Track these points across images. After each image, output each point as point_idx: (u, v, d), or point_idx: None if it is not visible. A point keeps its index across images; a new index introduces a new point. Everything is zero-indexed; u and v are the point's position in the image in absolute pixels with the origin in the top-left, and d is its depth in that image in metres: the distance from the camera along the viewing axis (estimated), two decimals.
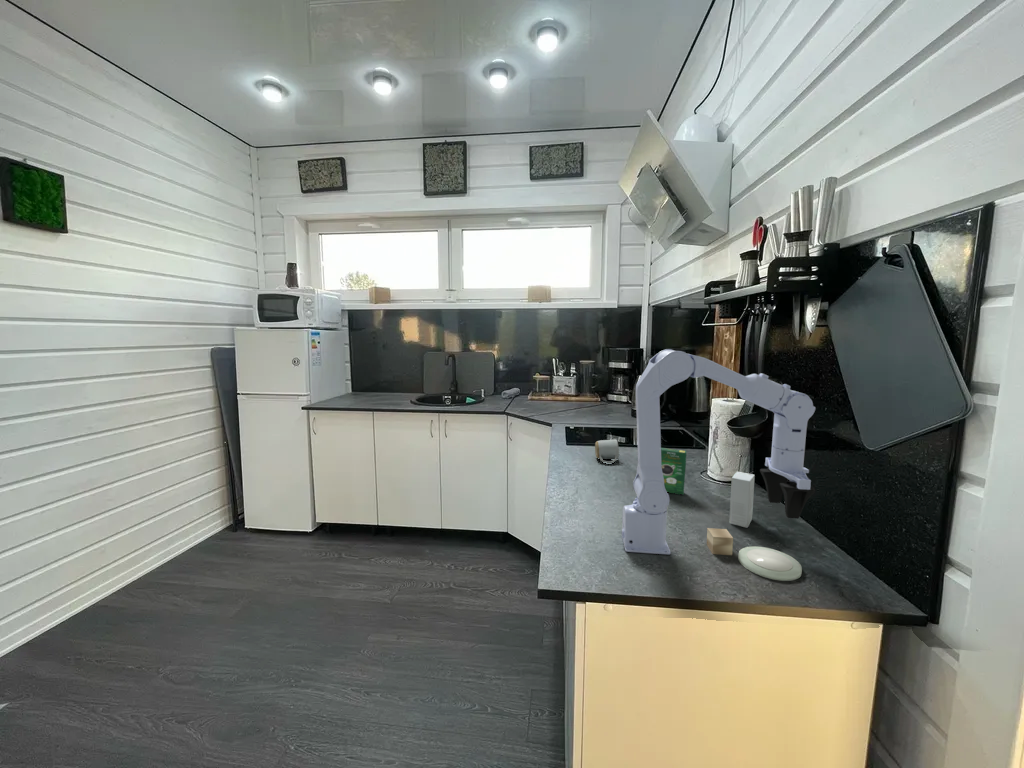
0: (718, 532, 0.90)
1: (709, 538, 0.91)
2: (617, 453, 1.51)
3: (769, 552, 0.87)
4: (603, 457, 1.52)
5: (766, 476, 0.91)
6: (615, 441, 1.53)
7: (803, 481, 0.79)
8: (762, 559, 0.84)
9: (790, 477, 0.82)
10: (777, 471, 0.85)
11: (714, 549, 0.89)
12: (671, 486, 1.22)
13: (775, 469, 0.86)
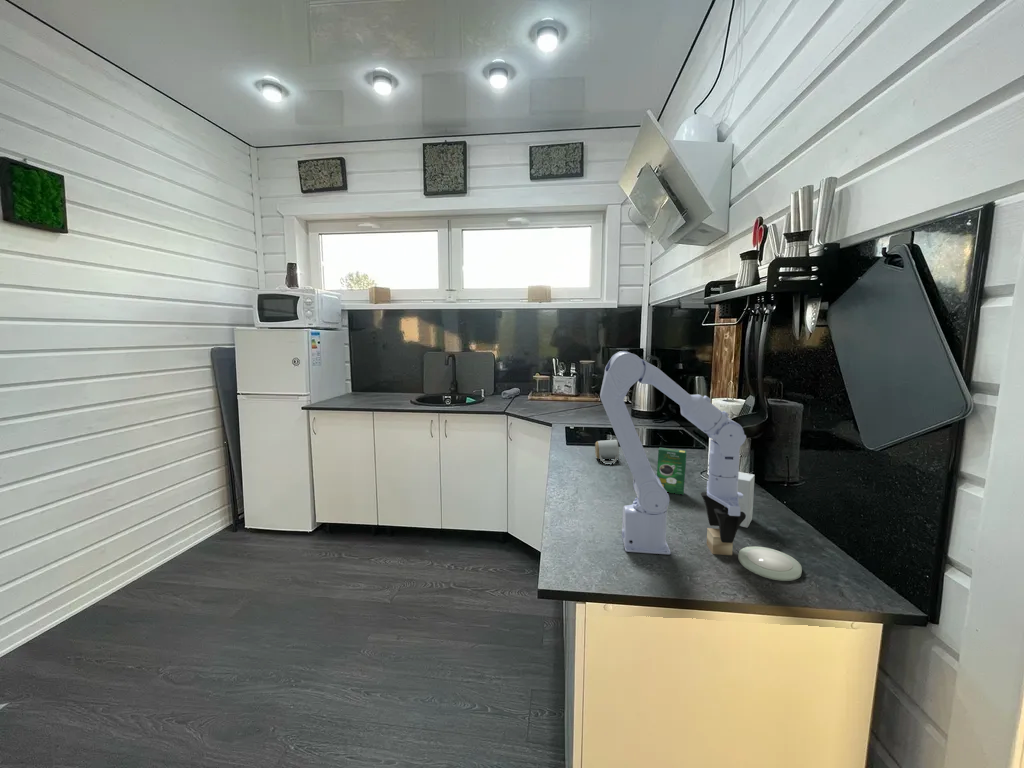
0: (718, 532, 0.90)
1: (709, 538, 0.91)
2: (617, 453, 1.51)
3: (769, 552, 0.87)
4: (603, 457, 1.52)
5: (706, 500, 0.93)
6: (615, 441, 1.53)
7: (733, 508, 0.82)
8: (762, 559, 0.84)
9: (723, 503, 0.84)
10: (712, 497, 0.88)
11: (714, 549, 0.89)
12: (671, 486, 1.22)
13: (711, 494, 0.88)
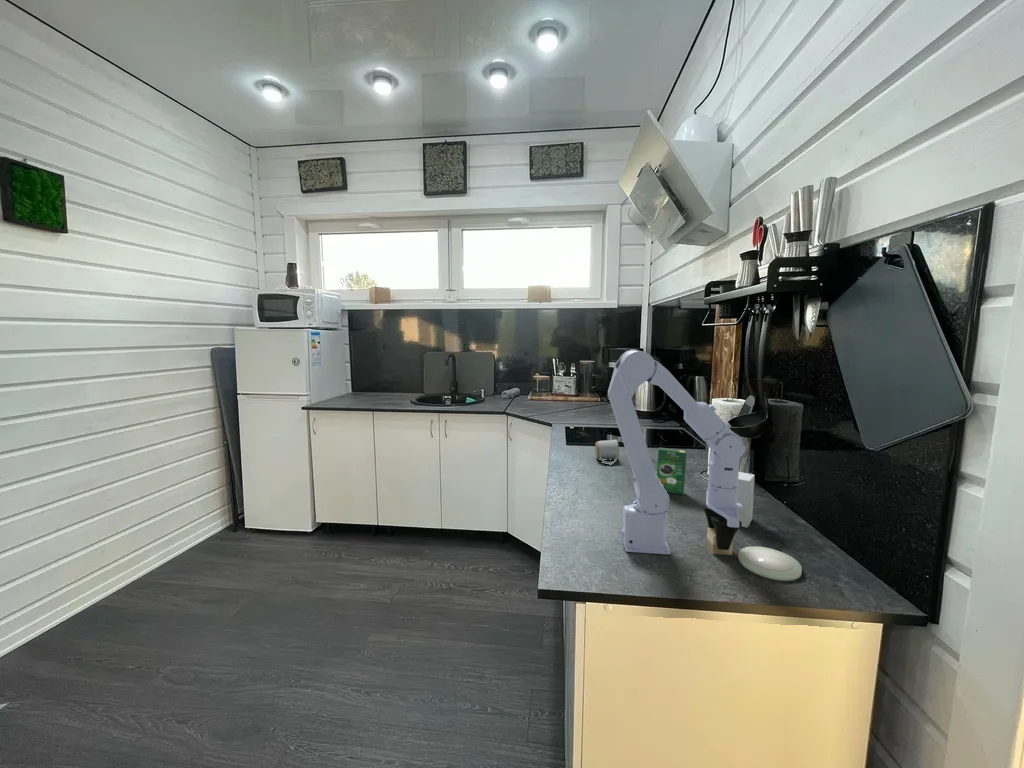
0: None
1: (709, 538, 0.91)
2: (617, 453, 1.50)
3: (769, 552, 0.87)
4: (603, 457, 1.52)
5: (707, 513, 0.92)
6: (615, 441, 1.53)
7: (732, 519, 0.82)
8: (762, 559, 0.84)
9: (722, 514, 0.85)
10: (711, 507, 0.88)
11: (714, 549, 0.89)
12: (671, 486, 1.22)
13: (710, 505, 0.88)
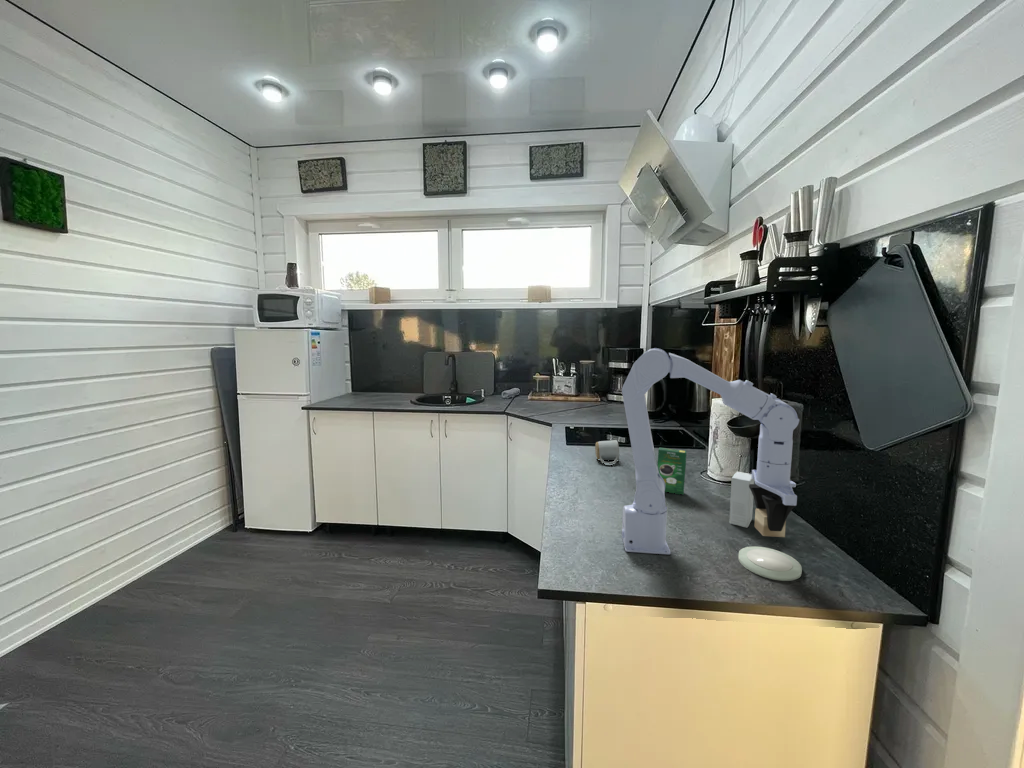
0: None
1: (758, 519, 0.84)
2: (617, 454, 1.50)
3: (769, 552, 0.87)
4: (603, 458, 1.51)
5: (755, 492, 0.85)
6: (615, 442, 1.52)
7: (789, 497, 0.76)
8: (762, 559, 0.84)
9: (776, 492, 0.78)
10: (763, 485, 0.81)
11: (765, 530, 0.82)
12: (671, 486, 1.22)
13: (761, 483, 0.82)
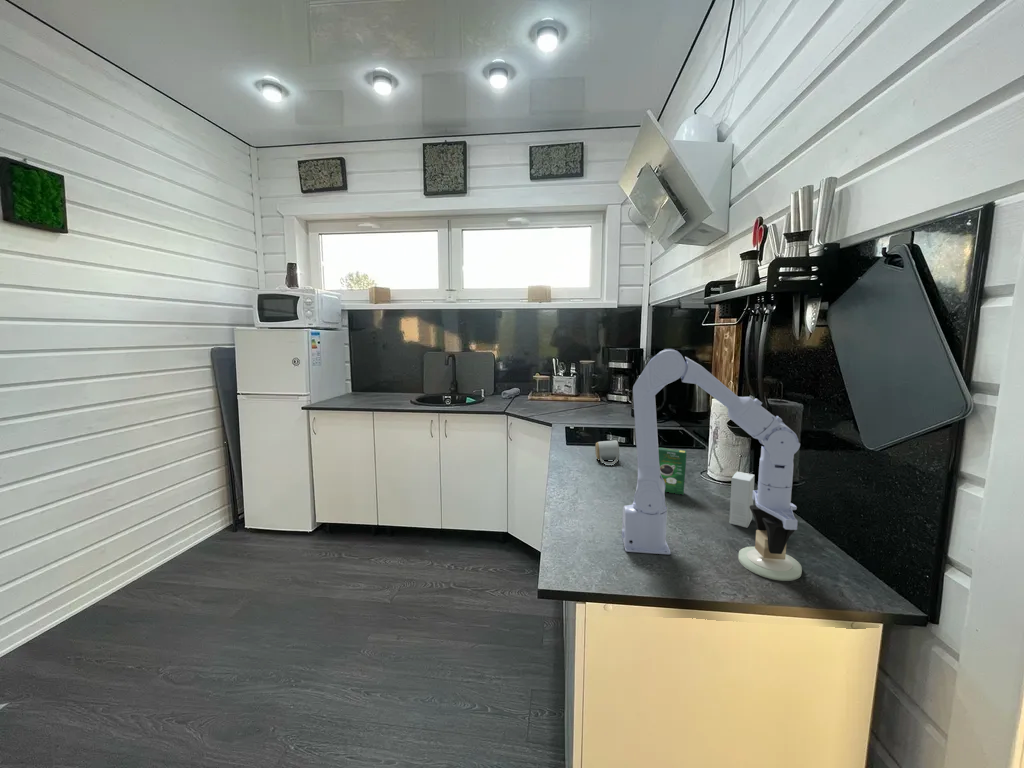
0: None
1: (759, 541, 0.85)
2: (618, 454, 1.50)
3: None
4: (603, 458, 1.51)
5: (756, 514, 0.86)
6: (616, 442, 1.52)
7: (789, 521, 0.76)
8: (762, 559, 0.84)
9: (776, 516, 0.78)
10: (763, 508, 0.81)
11: (765, 553, 0.82)
12: (671, 486, 1.22)
13: (761, 506, 0.82)
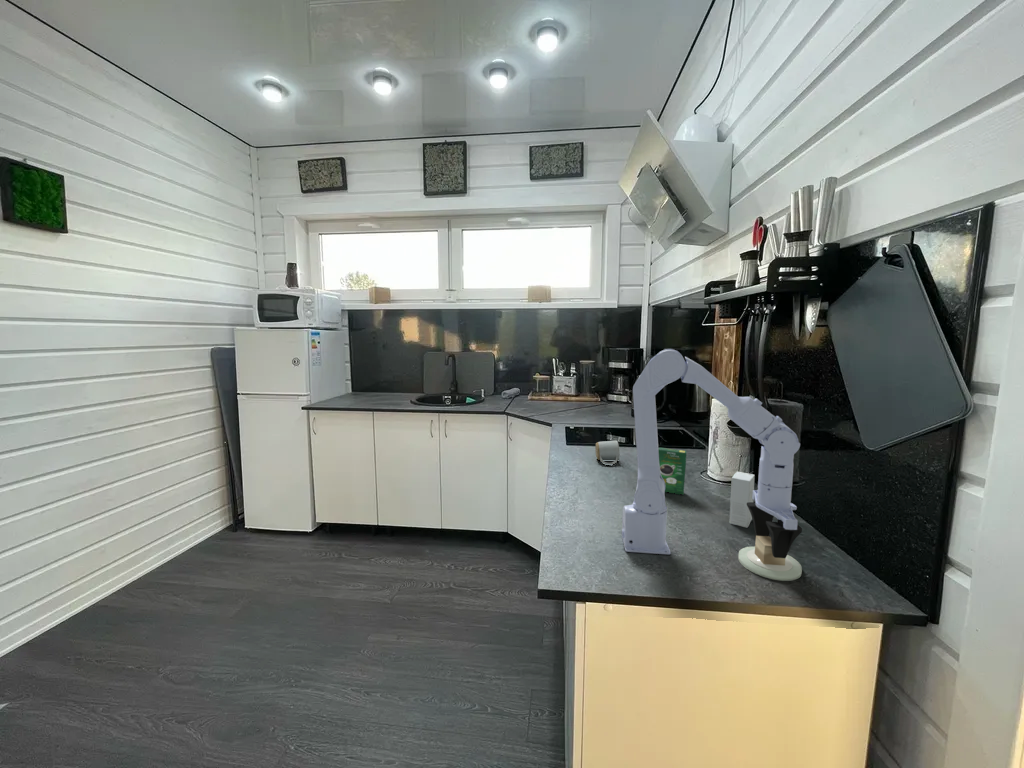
0: (768, 540, 0.84)
1: (758, 547, 0.85)
2: (618, 454, 1.50)
3: None
4: (603, 458, 1.51)
5: (753, 511, 0.87)
6: (616, 442, 1.52)
7: (789, 521, 0.76)
8: None
9: (776, 516, 0.78)
10: (763, 508, 0.81)
11: (765, 559, 0.82)
12: (671, 486, 1.22)
13: (761, 506, 0.82)
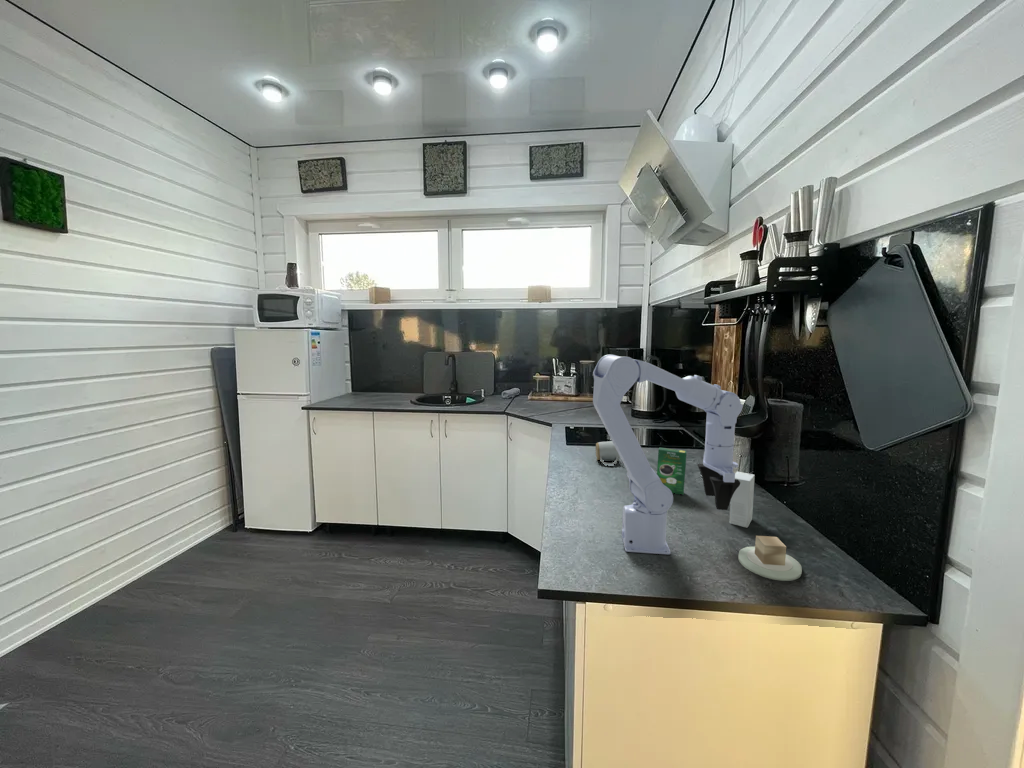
0: (768, 540, 0.84)
1: (758, 547, 0.85)
2: (618, 455, 1.49)
3: None
4: (604, 459, 1.50)
5: (702, 471, 0.96)
6: None
7: (728, 474, 0.85)
8: None
9: (718, 471, 0.88)
10: (708, 465, 0.91)
11: (765, 558, 0.82)
12: (671, 486, 1.22)
13: (707, 464, 0.91)
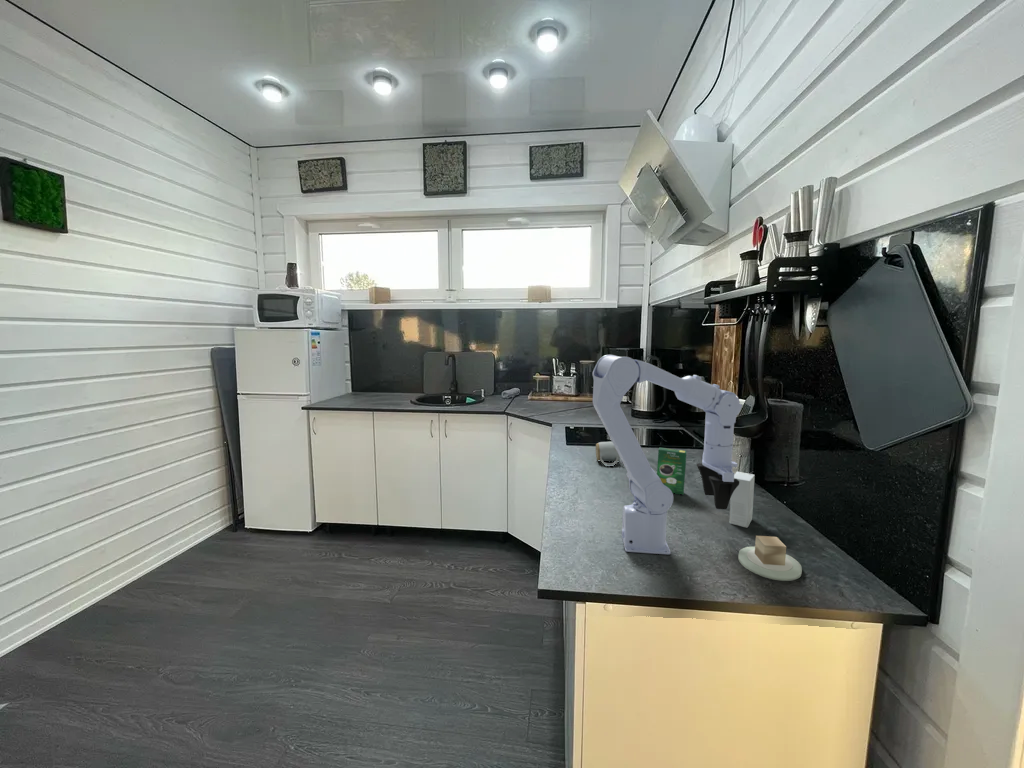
0: (768, 540, 0.84)
1: (758, 547, 0.85)
2: (618, 455, 1.49)
3: None
4: (604, 459, 1.50)
5: (701, 470, 0.97)
6: None
7: (727, 474, 0.85)
8: None
9: (717, 470, 0.88)
10: (707, 465, 0.91)
11: (765, 558, 0.82)
12: (671, 486, 1.22)
13: (706, 463, 0.91)
